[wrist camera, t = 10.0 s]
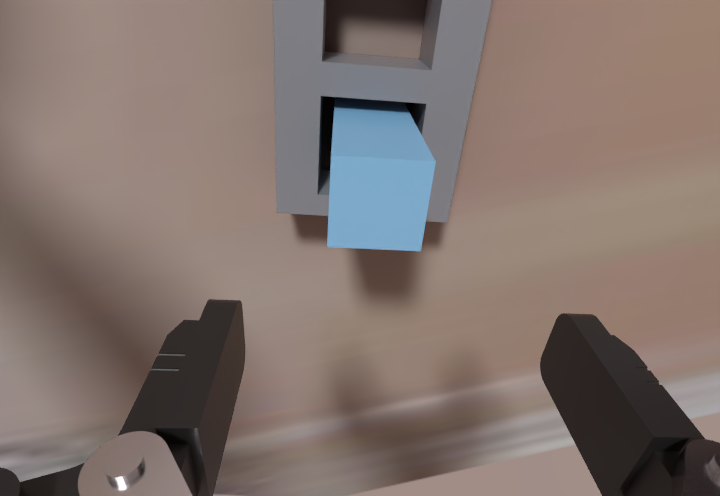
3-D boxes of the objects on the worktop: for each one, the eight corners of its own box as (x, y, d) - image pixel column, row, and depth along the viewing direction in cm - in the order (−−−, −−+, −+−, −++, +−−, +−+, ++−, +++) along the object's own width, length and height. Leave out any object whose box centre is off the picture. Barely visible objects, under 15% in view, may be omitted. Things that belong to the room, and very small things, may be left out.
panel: (280, -324, 18) (265, -400, 14) (521, -290, 18) (563, -354, 15) (284, 186, 29) (276, 213, 25) (434, 195, 29) (447, 222, 26)
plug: (335, 94, 26) (330, 155, 16) (402, 99, 26) (435, 161, 17) (332, 159, 28) (327, 247, 18) (394, 163, 28) (420, 251, 19)
